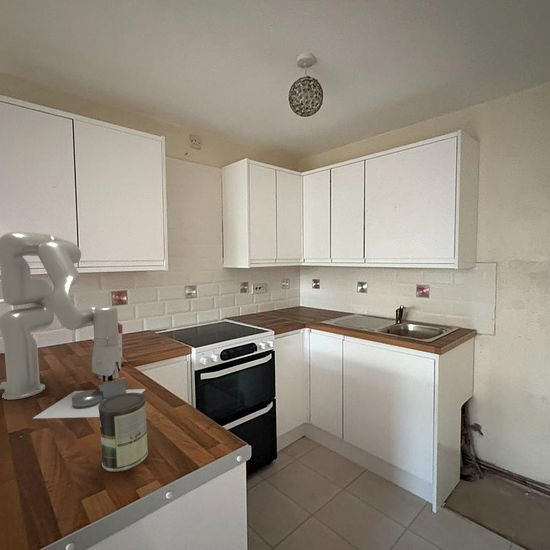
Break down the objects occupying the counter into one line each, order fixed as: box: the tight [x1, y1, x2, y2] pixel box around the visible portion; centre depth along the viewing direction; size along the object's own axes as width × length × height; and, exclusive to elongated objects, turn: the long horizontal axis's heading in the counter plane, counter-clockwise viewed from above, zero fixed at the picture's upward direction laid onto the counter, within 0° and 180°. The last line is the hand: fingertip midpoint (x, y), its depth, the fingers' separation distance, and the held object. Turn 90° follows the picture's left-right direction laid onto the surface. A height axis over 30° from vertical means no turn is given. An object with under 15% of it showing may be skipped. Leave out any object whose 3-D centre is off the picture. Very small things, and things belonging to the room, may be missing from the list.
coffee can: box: [98, 393, 149, 473], centre depth 77 cm, size 10×10×14 cm
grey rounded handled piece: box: [72, 377, 127, 408], centre depth 107 cm, size 16×9×5 cm, turn 127°
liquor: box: [114, 305, 125, 366], centre depth 146 cm, size 7×7×28 cm
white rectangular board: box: [31, 388, 147, 420], centre depth 105 cm, size 26×20×2 cm
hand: (108, 392), depth 112 cm, fingers closed
